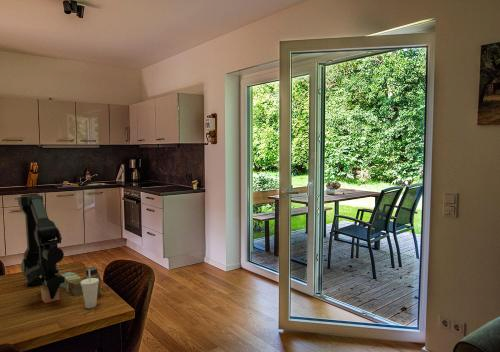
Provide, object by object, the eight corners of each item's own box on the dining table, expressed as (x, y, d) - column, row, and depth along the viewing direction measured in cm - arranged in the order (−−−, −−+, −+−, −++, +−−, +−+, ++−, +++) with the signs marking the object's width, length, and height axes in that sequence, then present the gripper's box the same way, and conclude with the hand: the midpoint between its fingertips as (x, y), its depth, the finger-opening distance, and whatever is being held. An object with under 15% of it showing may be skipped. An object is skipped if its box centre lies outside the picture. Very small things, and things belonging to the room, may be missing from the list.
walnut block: (68, 293, 150) (68, 281, 150) (80, 290, 154) (80, 278, 154) (75, 296, 147) (74, 284, 147) (87, 292, 151) (86, 280, 151)
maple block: (65, 288, 156) (64, 277, 155) (78, 286, 159) (77, 274, 158) (68, 292, 152) (67, 280, 151) (81, 289, 155) (80, 277, 154)
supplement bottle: (94, 299, 144) (93, 271, 143) (81, 298, 145) (79, 270, 144) (103, 293, 149) (102, 266, 149) (90, 293, 151) (89, 265, 150)
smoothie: (82, 311, 134) (80, 273, 132) (81, 304, 139) (79, 268, 138) (101, 307, 136) (99, 270, 135) (99, 301, 142) (97, 265, 141)
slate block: (59, 286, 159) (58, 275, 158) (70, 282, 163) (69, 271, 163) (66, 288, 156) (66, 277, 156) (77, 284, 161) (76, 273, 160)
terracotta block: (41, 299, 145) (40, 287, 145) (55, 295, 148) (54, 283, 148) (45, 303, 141) (44, 290, 141) (59, 299, 145) (58, 286, 144)
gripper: (18, 257, 145) (21, 296, 146) (30, 267, 131) (33, 310, 132) (49, 251, 152) (51, 288, 154) (64, 261, 139) (66, 301, 140)
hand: (50, 296), depth 145 cm, fingers closed on terracotta block, 5 cm apart
